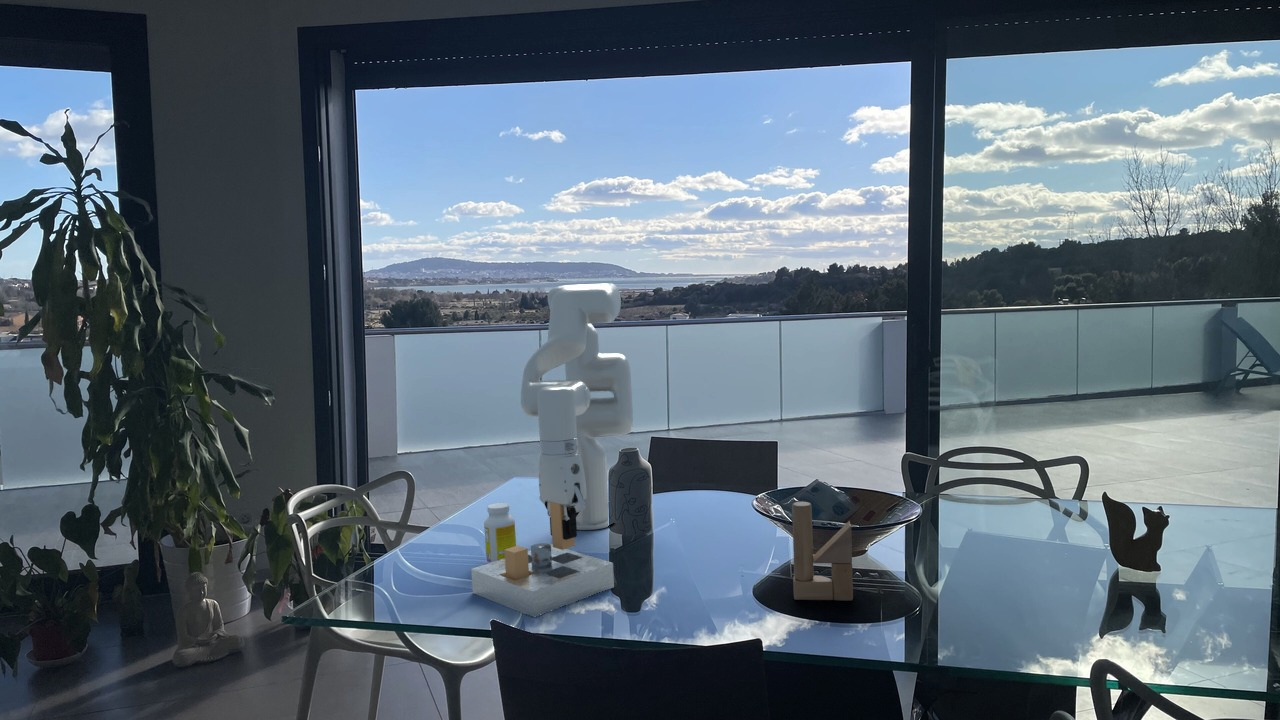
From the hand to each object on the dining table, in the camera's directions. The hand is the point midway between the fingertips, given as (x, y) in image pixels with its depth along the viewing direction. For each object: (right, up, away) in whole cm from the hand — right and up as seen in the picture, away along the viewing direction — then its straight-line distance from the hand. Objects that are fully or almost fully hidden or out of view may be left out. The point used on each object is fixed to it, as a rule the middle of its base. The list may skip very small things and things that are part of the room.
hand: (563, 535), depth 182 cm
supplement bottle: (-15, -9, +15) cm, 23 cm away
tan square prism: (0, -2, 0) cm, 2 cm away
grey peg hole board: (-4, -10, -3) cm, 11 cm away
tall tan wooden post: (-8, -11, -7) cm, 15 cm away
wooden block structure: (+50, -9, -14) cm, 52 cm away
